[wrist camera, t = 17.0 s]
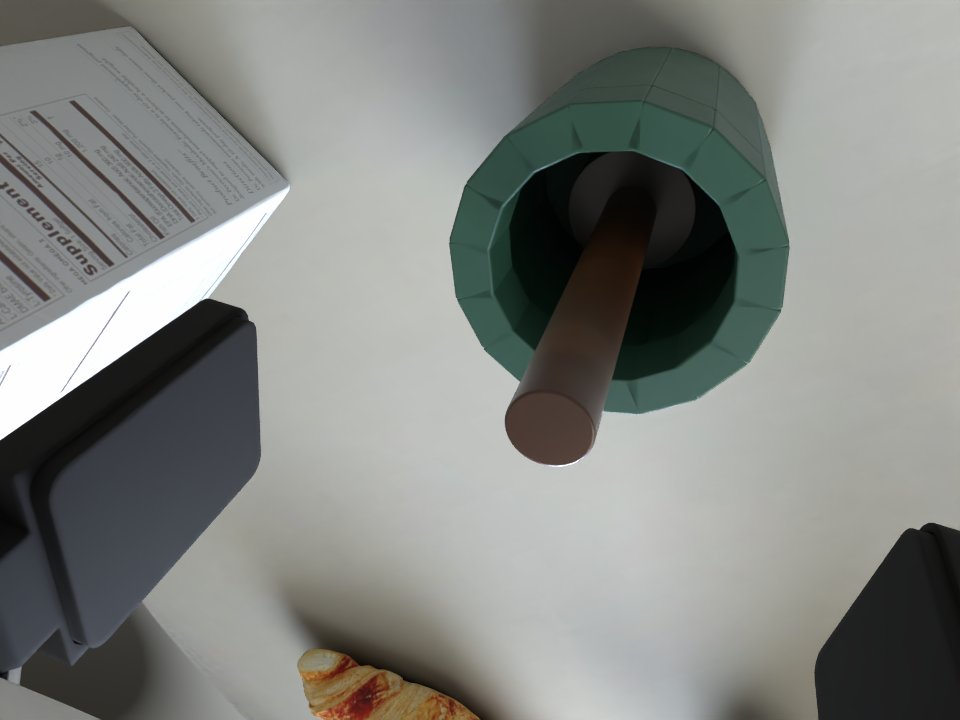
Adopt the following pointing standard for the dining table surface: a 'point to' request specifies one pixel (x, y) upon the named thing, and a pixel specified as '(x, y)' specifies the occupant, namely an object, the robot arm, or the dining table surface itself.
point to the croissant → (369, 692)
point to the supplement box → (109, 207)
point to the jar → (661, 290)
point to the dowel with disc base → (598, 298)
